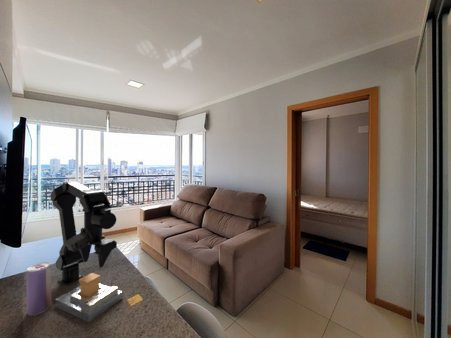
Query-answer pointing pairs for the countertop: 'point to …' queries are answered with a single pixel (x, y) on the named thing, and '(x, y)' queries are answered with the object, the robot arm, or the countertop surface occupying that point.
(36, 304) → the beverage can
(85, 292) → the wedge pin
